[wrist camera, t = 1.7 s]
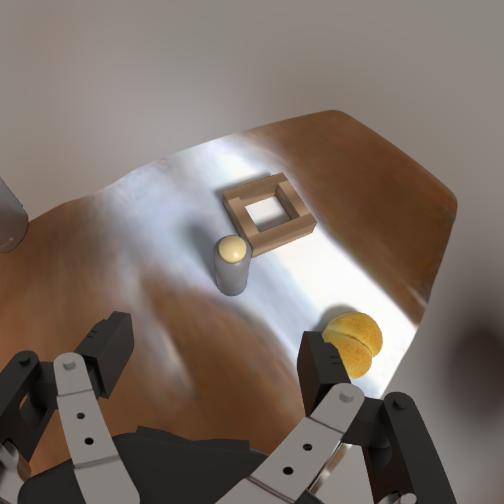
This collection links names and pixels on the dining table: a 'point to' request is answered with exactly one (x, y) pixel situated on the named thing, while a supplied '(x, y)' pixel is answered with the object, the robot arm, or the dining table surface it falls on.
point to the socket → (277, 235)
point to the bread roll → (354, 341)
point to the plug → (232, 264)
